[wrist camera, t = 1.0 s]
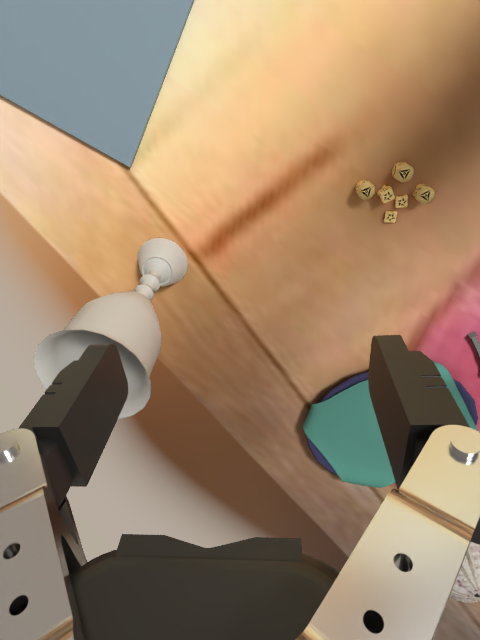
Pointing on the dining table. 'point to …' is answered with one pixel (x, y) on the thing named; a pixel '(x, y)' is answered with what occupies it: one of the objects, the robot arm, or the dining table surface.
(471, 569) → the sea urchin shell
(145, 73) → the rubber mat
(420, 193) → the dice set
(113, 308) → the chalice
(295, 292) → the dining table surface
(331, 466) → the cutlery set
